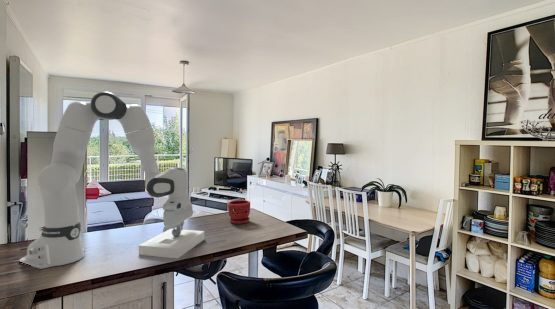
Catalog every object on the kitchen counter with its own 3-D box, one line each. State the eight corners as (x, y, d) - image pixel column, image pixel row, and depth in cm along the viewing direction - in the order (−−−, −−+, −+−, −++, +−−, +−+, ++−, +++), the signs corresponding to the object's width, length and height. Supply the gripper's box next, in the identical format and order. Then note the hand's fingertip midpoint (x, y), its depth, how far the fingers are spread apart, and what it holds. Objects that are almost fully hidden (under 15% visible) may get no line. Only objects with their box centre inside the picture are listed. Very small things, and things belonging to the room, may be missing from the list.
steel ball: (174, 228, 137) (173, 237, 136) (171, 226, 134) (169, 235, 132) (183, 228, 137) (181, 237, 135) (179, 227, 133) (177, 236, 132)
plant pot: (250, 218, 181) (250, 199, 181) (249, 225, 168) (249, 204, 167) (229, 218, 180) (229, 199, 180) (226, 225, 167) (226, 204, 167)
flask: (172, 232, 153) (172, 213, 152) (160, 231, 154) (160, 212, 154) (180, 228, 160) (180, 210, 159) (168, 227, 161) (167, 209, 161)
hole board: (138, 254, 124) (138, 245, 123) (170, 236, 147) (170, 228, 147) (177, 258, 120) (177, 249, 120) (204, 239, 143) (204, 231, 143)
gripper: (183, 197, 148) (184, 224, 148) (160, 206, 127) (161, 238, 128) (195, 197, 146) (196, 224, 147) (173, 207, 126) (174, 238, 127)
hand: (180, 231), depth 138 cm, fingers closed
